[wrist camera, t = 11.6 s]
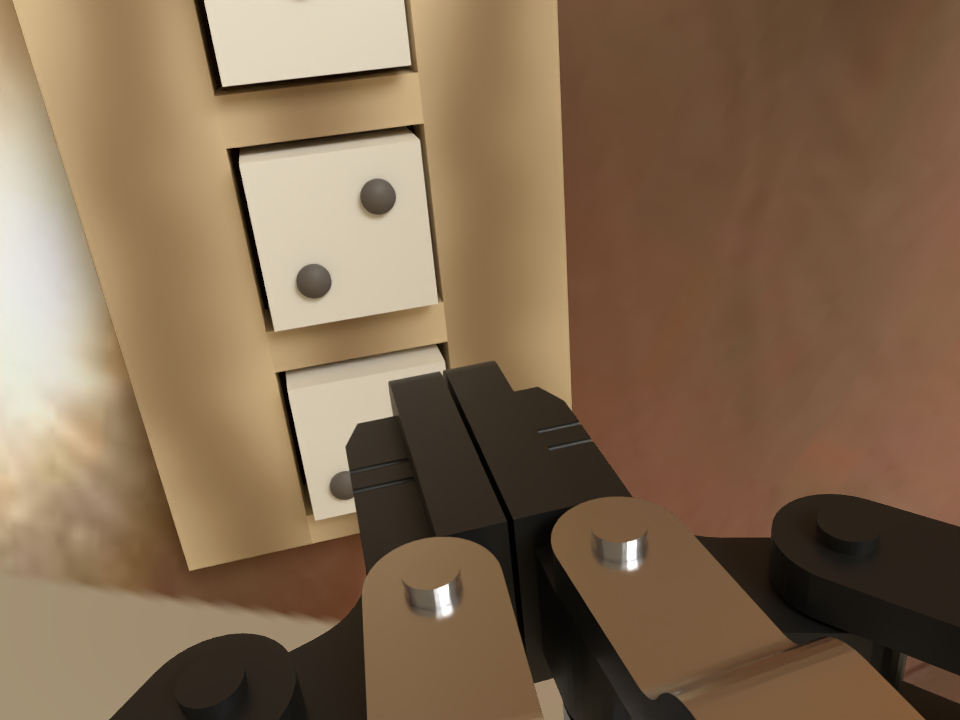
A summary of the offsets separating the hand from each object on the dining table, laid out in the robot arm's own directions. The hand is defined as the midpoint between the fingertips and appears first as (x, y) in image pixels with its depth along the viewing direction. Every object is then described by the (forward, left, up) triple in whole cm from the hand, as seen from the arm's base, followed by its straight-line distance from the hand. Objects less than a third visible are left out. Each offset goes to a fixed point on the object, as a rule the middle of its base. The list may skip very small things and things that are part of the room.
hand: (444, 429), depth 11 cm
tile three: (0, +8, -16) cm, 18 cm away
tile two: (0, +1, -16) cm, 16 cm away
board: (0, +1, -16) cm, 16 cm away
